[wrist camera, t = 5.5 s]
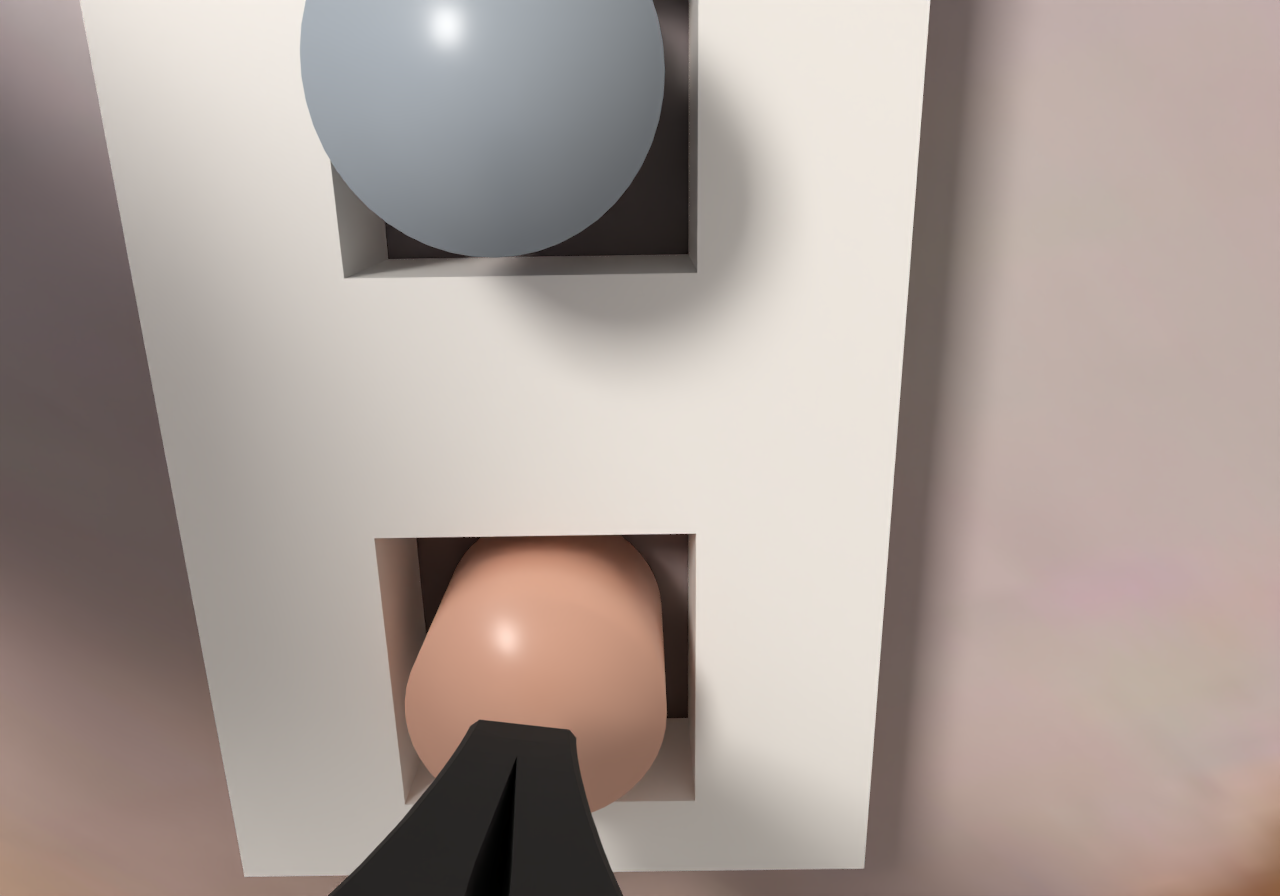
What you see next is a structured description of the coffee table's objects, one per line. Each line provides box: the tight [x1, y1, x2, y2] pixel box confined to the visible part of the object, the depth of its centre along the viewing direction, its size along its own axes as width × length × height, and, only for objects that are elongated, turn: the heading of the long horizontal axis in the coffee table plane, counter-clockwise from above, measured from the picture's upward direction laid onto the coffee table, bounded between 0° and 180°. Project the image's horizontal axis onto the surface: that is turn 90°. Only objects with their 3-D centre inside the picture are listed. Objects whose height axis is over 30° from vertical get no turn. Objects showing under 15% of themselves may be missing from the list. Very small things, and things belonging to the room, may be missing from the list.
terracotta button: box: [405, 535, 667, 813], centre depth 15 cm, size 4×4×3 cm
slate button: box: [300, 0, 665, 258], centre depth 12 cm, size 4×4×3 cm
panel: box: [80, 0, 930, 877], centre depth 13 cm, size 11×26×2 cm, turn 1°
